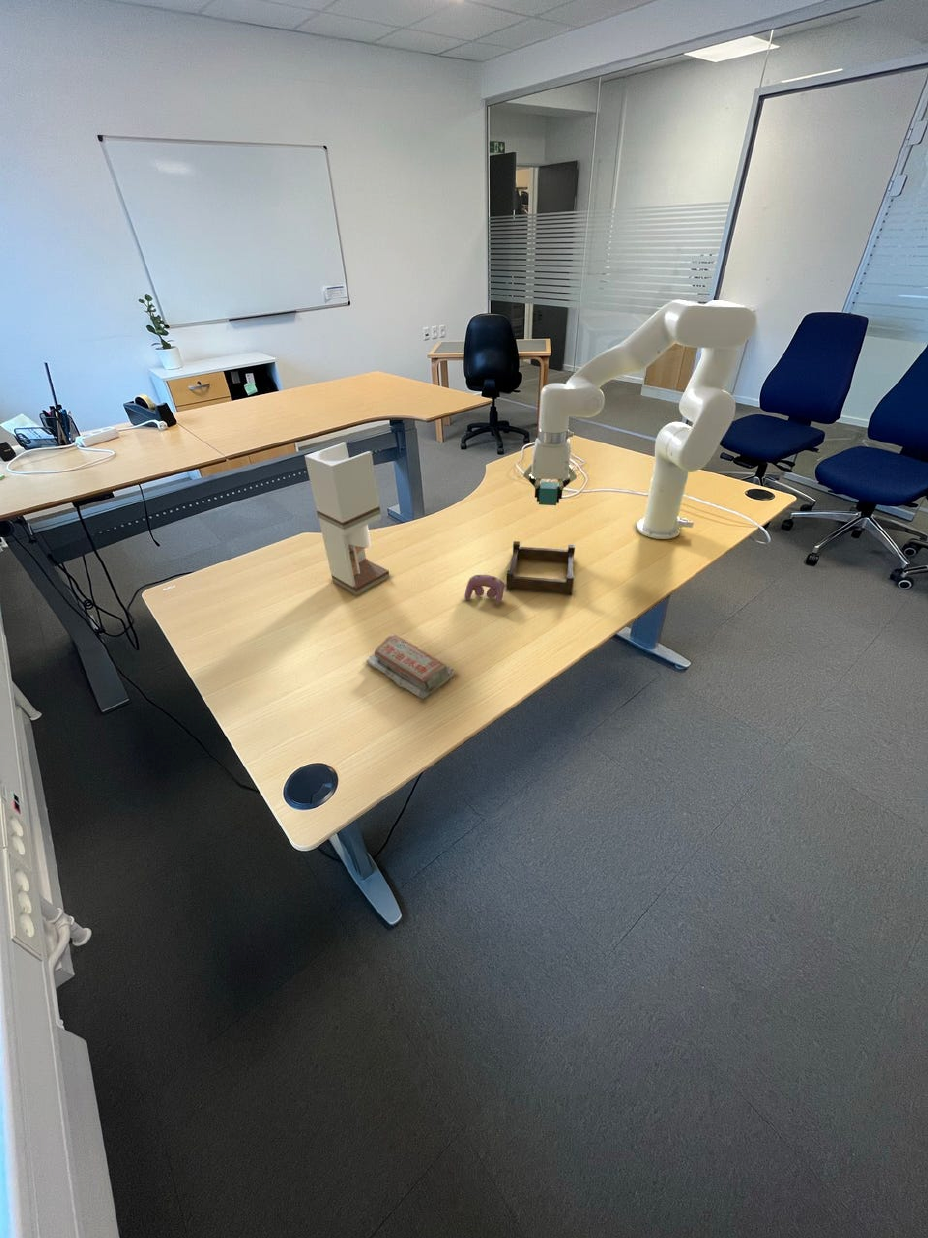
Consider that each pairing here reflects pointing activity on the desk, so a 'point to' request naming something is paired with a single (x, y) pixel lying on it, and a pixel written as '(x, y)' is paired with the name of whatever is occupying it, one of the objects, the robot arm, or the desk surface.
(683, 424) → the robot arm
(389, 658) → the packaged product
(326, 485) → the tall open-top tower
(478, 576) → the video game controller
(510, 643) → the desk surface
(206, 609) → the desk surface
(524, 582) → the wooden frame
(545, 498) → the teal block
